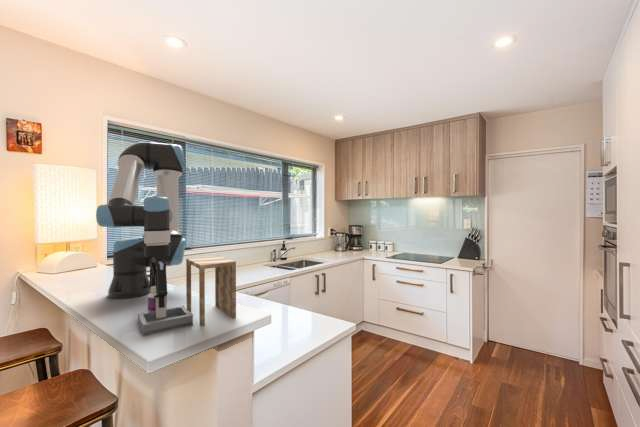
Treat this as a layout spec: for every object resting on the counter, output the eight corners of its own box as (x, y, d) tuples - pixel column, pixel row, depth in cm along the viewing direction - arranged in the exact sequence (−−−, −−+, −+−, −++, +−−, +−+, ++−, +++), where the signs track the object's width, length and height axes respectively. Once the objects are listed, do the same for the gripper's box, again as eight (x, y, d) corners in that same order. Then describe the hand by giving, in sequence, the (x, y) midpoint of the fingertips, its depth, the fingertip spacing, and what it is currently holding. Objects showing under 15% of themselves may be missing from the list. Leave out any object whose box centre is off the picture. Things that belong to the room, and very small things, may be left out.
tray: (137, 324, 90) (137, 314, 90) (183, 314, 98) (183, 305, 98) (143, 336, 82) (143, 325, 82) (192, 324, 90) (192, 314, 90)
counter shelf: (186, 311, 101) (186, 258, 101) (218, 305, 108) (218, 255, 108) (200, 326, 89) (200, 265, 89) (236, 317, 96) (235, 261, 95)
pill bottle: (158, 319, 94) (158, 289, 94) (144, 318, 96) (143, 288, 95) (170, 313, 100) (170, 284, 100) (156, 312, 101) (156, 284, 101)
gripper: (139, 243, 103) (140, 309, 102) (149, 246, 86) (150, 325, 85) (163, 242, 108) (164, 305, 107) (177, 244, 91) (178, 319, 90)
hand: (158, 314), depth 96 cm, fingers open, 9 cm apart
